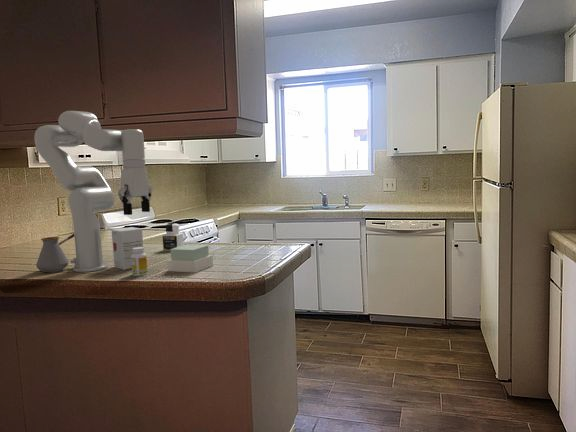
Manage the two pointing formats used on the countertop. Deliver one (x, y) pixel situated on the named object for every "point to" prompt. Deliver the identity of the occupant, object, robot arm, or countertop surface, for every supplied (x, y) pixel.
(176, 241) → the medicine bottle
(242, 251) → the countertop surface
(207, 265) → the block
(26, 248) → the countertop surface
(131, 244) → the supplement box
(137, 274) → the supplement bottle
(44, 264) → the coffee pot
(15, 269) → the countertop surface
